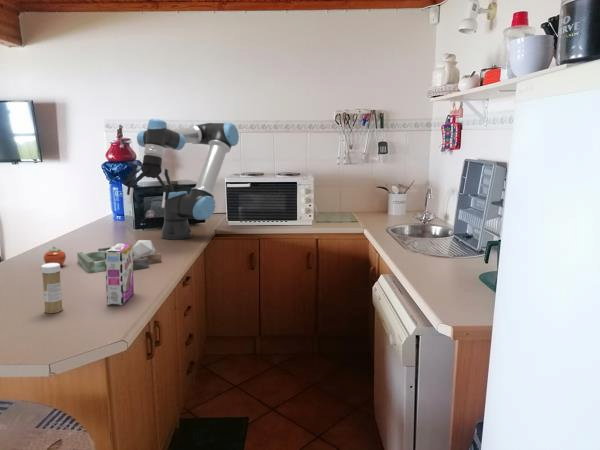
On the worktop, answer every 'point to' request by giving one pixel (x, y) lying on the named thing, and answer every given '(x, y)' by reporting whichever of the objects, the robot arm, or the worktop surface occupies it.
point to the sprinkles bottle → (52, 287)
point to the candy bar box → (119, 273)
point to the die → (143, 248)
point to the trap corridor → (90, 266)
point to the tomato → (55, 256)
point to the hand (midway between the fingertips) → (146, 205)
